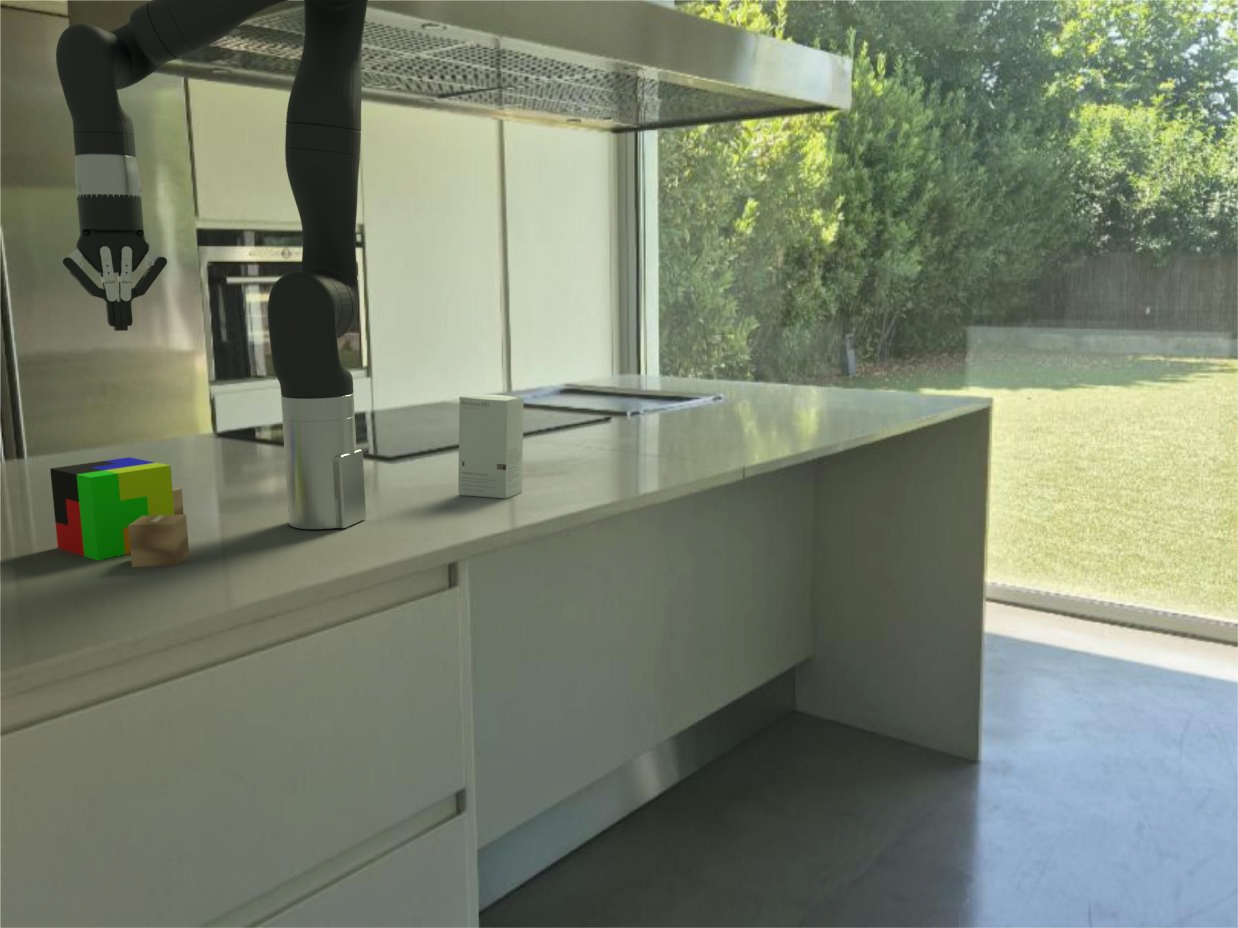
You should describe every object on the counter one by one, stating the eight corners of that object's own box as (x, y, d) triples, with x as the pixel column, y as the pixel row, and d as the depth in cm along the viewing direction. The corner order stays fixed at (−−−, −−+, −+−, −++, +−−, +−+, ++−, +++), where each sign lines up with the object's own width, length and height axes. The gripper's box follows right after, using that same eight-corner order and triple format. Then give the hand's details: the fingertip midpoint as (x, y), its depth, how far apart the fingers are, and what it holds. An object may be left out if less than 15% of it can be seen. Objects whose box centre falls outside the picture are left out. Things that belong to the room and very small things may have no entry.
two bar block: (184, 525, 150) (181, 487, 149) (152, 533, 146) (149, 494, 145) (159, 521, 153) (156, 484, 152) (127, 529, 149) (124, 491, 148)
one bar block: (189, 555, 135) (185, 513, 134) (176, 566, 130) (173, 522, 129) (146, 556, 134) (142, 514, 133) (132, 567, 129) (128, 524, 129)
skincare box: (458, 496, 167) (454, 396, 165) (477, 488, 173) (474, 392, 170) (508, 499, 165) (506, 398, 162) (526, 491, 170) (524, 394, 167)
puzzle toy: (135, 533, 146) (129, 457, 145) (176, 544, 140) (170, 465, 138) (57, 548, 139) (50, 468, 137) (98, 560, 132) (90, 477, 131)
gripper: (159, 196, 150) (169, 327, 153) (48, 193, 143) (61, 331, 146) (169, 193, 143) (179, 330, 146) (54, 190, 137) (67, 333, 140)
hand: (120, 330), depth 146 cm, fingers closed
